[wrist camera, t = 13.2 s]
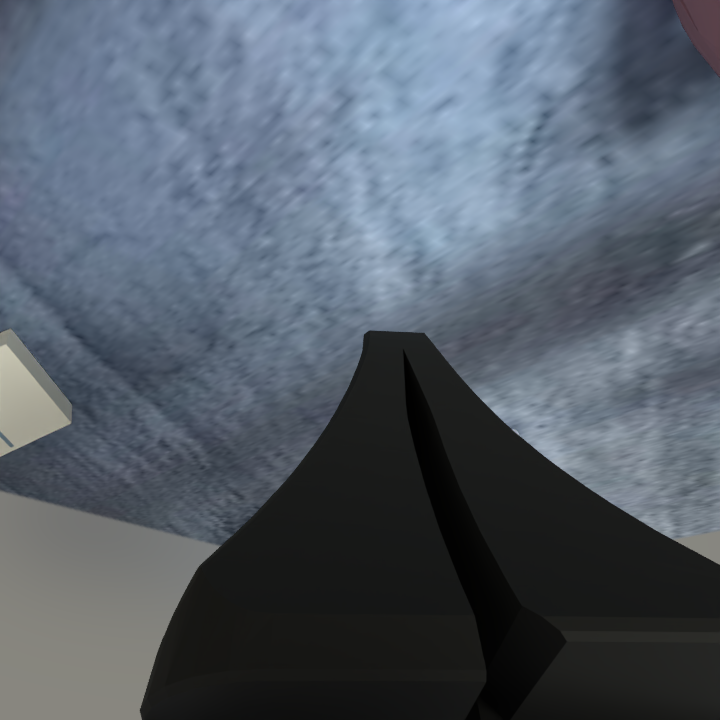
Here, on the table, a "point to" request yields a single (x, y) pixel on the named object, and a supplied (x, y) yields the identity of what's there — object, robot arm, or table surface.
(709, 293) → the table surface
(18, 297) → the table surface
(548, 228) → the table surface
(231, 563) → the robot arm
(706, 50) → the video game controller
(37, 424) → the domino
